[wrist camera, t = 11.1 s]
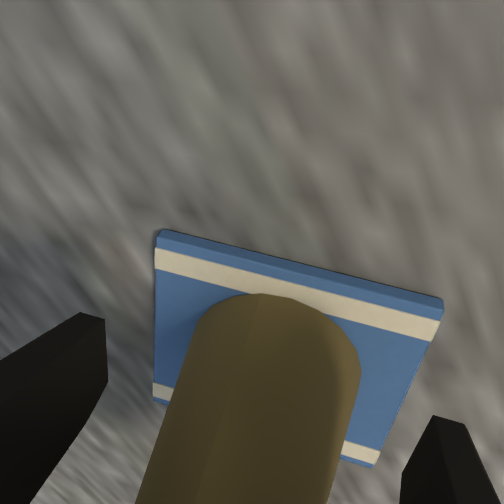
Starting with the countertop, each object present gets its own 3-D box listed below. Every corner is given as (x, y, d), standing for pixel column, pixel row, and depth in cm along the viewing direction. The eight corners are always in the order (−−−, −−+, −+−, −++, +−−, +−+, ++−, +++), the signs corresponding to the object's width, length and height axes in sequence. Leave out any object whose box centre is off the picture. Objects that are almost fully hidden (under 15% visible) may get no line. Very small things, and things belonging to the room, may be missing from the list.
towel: (372, 456, 19) (372, 470, 18) (158, 390, 20) (152, 402, 19) (443, 298, 14) (445, 312, 14) (163, 227, 16) (154, 237, 15)
